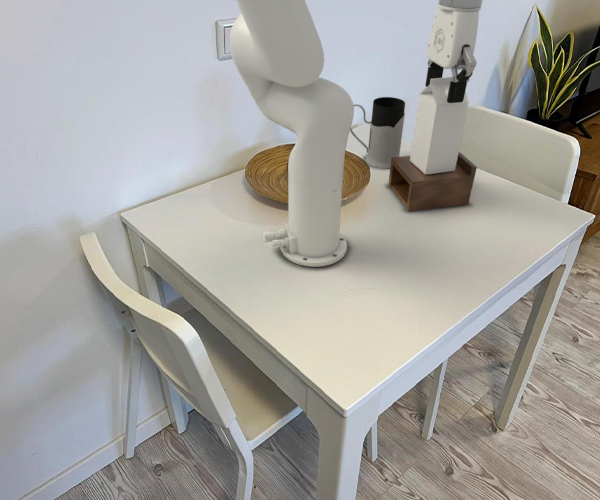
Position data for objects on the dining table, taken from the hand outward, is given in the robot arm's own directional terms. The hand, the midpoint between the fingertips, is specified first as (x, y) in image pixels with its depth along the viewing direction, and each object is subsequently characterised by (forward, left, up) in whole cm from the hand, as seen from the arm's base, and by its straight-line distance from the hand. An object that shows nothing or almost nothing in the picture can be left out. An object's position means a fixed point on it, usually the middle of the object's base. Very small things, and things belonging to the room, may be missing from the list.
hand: (443, 94), depth 101 cm
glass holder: (-6, +20, -23) cm, 31 cm away
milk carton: (0, 0, -16) cm, 16 cm away
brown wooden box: (0, 0, -23) cm, 23 cm away
